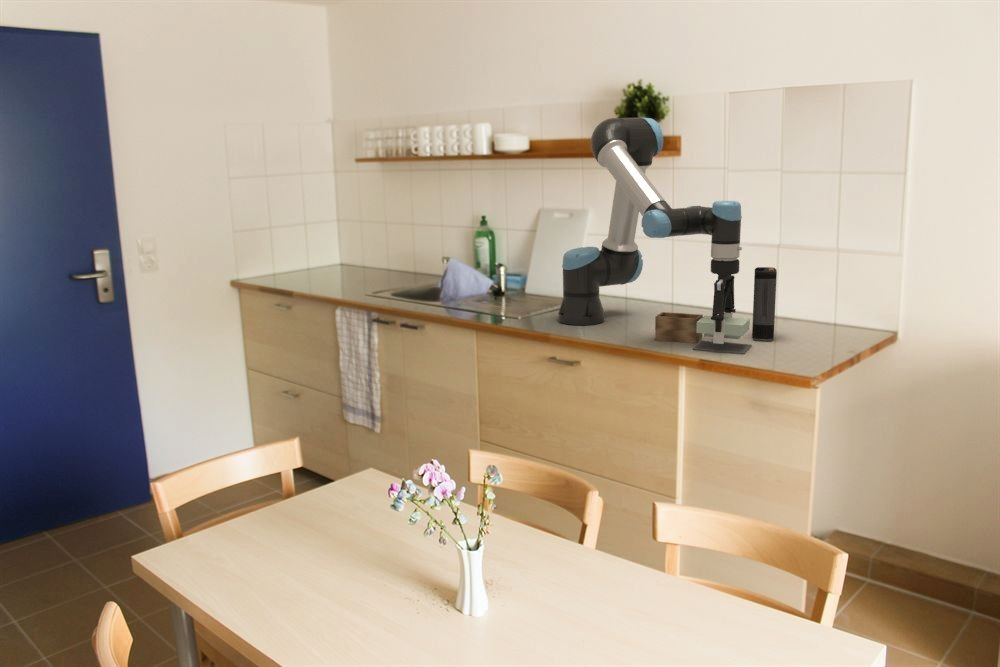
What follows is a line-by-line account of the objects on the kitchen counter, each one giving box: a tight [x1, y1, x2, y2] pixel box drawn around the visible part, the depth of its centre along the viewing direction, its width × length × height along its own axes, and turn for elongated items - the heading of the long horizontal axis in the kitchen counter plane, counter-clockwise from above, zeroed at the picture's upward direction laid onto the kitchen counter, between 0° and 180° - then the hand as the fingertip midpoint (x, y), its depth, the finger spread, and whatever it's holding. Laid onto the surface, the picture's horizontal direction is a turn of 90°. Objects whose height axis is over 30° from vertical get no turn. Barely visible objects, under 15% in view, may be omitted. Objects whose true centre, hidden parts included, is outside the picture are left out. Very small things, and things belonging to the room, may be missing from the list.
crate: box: [654, 311, 704, 344], centre depth 245 cm, size 12×7×7 cm, turn 63°
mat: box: [692, 340, 753, 355], centre depth 235 cm, size 14×10×1 cm
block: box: [696, 315, 751, 340], centre depth 233 cm, size 12×9×4 cm
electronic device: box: [751, 266, 778, 342], centre depth 243 cm, size 9×6×20 cm, turn 163°
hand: (722, 339), depth 234 cm, fingers closed on block, 9 cm apart
